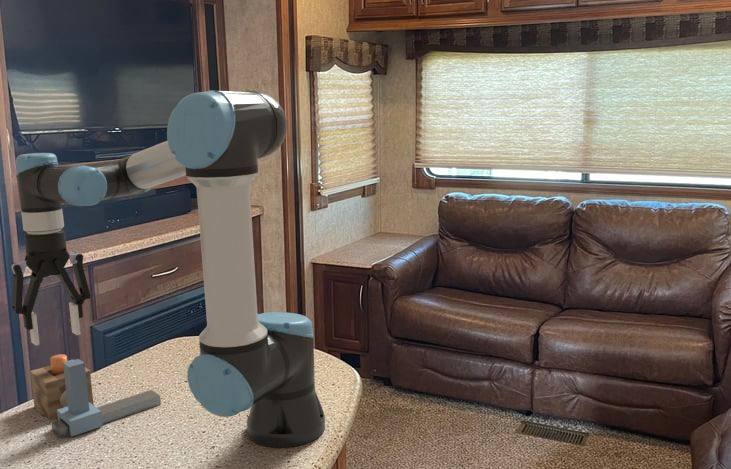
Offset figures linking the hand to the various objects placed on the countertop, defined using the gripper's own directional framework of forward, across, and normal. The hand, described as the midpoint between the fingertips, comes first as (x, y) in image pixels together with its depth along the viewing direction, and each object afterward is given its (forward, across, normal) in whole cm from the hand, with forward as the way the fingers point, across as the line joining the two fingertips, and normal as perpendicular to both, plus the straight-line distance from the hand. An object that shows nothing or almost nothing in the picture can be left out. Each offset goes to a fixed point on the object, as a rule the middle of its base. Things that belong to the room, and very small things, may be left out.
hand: (56, 338), depth 144 cm
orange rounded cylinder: (+8, 0, 0) cm, 8 cm away
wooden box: (+15, 0, 0) cm, 15 cm away
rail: (+15, -4, +12) cm, 20 cm away
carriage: (+15, +1, +12) cm, 19 cm away
